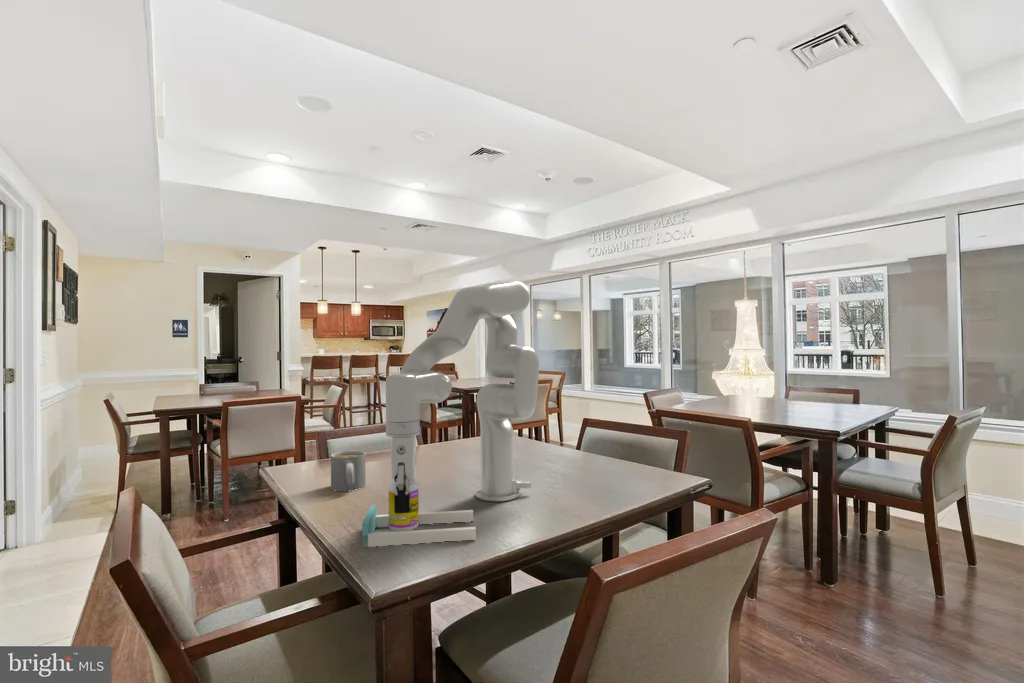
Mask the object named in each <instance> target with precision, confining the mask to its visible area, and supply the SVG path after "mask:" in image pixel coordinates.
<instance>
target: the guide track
mask: <svg viewBox="0 0 1024 683" xmlns="http://www.w3.org/2000/svg"><path fill="white" fill-rule="evenodd" d="M377 509H378V507H377V504H371V505H370V507H369V509H368V511H367V512H366V515H365V517H364V519H363V521H362V523H361V543H362V544H361V546H362V547H361V548H376V546H378V547H389V546H388V545H394V546H403V545H402V544H410V545H419V543H426V544H432V543H431V542H442V543H444V542H443V541H457V540H458V542H462V541H461V540H474V541H476V540H477V533H476V532H477V530H476V526H467V527H466V526H465V527H452V528H451V527H449V528H447V527H446V528H432V529H420V530H419V529H417V530H415V529H414V530H411V531H396V532H395V531H383V532H376V529H375V528H376V527H378V528H389V527H388V526H389V514H377V513H378V512H377ZM471 521H473V522H474V510H473V509H466V510H465V509H464V510H462V509H461V510H449V511H448V510H446V511H429V512H419V522H418V526H422V525H421V524H430V525H434V524H433V523H447V524H454V523H453V522H465V523H472V522H471ZM419 524H420V525H419Z"/></svg>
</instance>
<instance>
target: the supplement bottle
mask: <svg viewBox="0 0 1024 683" xmlns="http://www.w3.org/2000/svg"><path fill="white" fill-rule="evenodd" d="M404 470H405V468H404ZM395 477H396V476H395ZM404 480H407V478H404ZM404 485H405V486H406V483H404ZM408 494H410V511H409V513H395V505H394V495H395V482H394V481H393V480H392V482H390V483H389V485H388V515H389V527H388V528H389V529H390V531H391V532H396V531H413V530H415V529H417V528H418V526H419V525H418V522H419V513H420V512H419V511H420V510H419V509H420V508H419V483H418V482H417V481H416V479H415V480H414V481H412V480H409V483H408Z"/></svg>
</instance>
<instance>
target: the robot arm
mask: <svg viewBox="0 0 1024 683" xmlns="http://www.w3.org/2000/svg"><path fill="white" fill-rule="evenodd" d="M530 300H531V295H530V291H529V289H528V287H527V286H526V285H525V284H524V282H521V281H517V280H515V281H507V282H498V283H497V282H496V283H489V284H483V285H481V286H469V287H464V288H462V289H460V290H457V292H456V293H455V294H454V296H453V298H452V300H451V302H450V304H449V306H448V307H447V310H446V312H445V313H444V316H443V317H442V319H441V321H440V323H439V325H438V327H437V328H436V331H435V332H433V333H432V334H431V335H429V336H428V337H427V338H426V339H425V340H423V341H422V342H421V343H420V344H419V345H418V346H417V347H415V349H413V351H412V352H411V353H409V356H407V359H406V360H405V362H404V364H403V366H402V368H400V372H399V373H392V374H391V373H390V374H389V375H388V376H386V379H385V436H386V437H388V438H390V440H391V442H390V445H391V446H390V448H391V449H390V456H391V457H390V459H391V461H390V464H391V465H390V466H391V480H392V482H393V481H394V482H395V495H394V505H395V513H409V511H410V494H408V483H409V480H412V481H414V480H415V481H416V477H417V472H418V471H417V470H418V469H417V441H416V436H418V435H421V432H420V430H421V427H420V426H421V425H420V424H421V423H420V420H421V418H420V414H421V413H420V408H421V407H420V404H438V403H442V402H444V401H446V399H448V397H449V396H450V395H451V393H452V390H453V387H452V386H453V385H452V381H451V379H450V377H448V376H447V375H446V374H445V373H442V372H440V371H434V370H433V371H432V370H431V368H433V367H434V366H435V365H436V364H438V362H440V361H441V360H443V359H446V358H447V357H450V356H452V355H453V356H454V355H455V354H457V353H458V352H460V351H462V350H464V349H465V348H466V347H467V345H468V343H469V341H470V339H471V336H472V334H473V332H474V330H475V328H476V326H477V324H478V322H479V320H483V319H484V320H485V323H486V326H487V343H486V356H485V372H486V374H487V375H488V376H489V377H490V378H493V379H498V380H514V384H513V383H512V384H511V383H510V384H509V383H497V382H496V383H488V384H485V385H484V386H482V387H481V388H480V389H479V390H478V393H477V395H476V409H477V412H478V419H479V429H480V434H479V435H480V487H479V488H477V489H476V490H475V497H476V498H477V499H479V500H481V501H486V502H507V501H512V500H514V499H517V498H519V497H520V495H521V491H520V490H521V489H531V488H532V483H531V480H529V481H526V480H525V479H523V480H522V479H521V480H518V479H516V477H515V431H514V428H513V425H512V423H511V421H510V420H519V421H521V420H524V421H525V420H528V419H529V418H531V417H532V416H533V415H534V413H535V410H536V407H537V402H538V401H537V399H538V388H539V387H538V386H539V377H540V360H539V356H538V353H537V352H536V350H534V349H533V347H530V346H527V345H517V344H518V328H517V324H516V322H515V321H514V319H513V317H512V316H511V315H515V314H519V313H522V312H524V311H525V310H526V308H527V307H528V306H529V303H530ZM430 370H431V371H430ZM404 468H405V470H404ZM395 476H396V477H395ZM404 478H407V480H404ZM404 483H406V486H405V485H404Z"/></svg>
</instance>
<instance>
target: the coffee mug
mask: <svg viewBox="0 0 1024 683" xmlns="http://www.w3.org/2000/svg"><path fill="white" fill-rule="evenodd" d="M364 486H365V487H366V452H365V451H363V450H344V451H338V452H335V453H332V454H330V490H331V489H332V490H331V491H333V490H336V491H335V492H337V491H349V490H355V489H359V488H362V487H364ZM365 487H364V488H365ZM362 489H363V488H362ZM359 490H360V489H359ZM355 491H356V490H355ZM349 492H350V491H349Z"/></svg>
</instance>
